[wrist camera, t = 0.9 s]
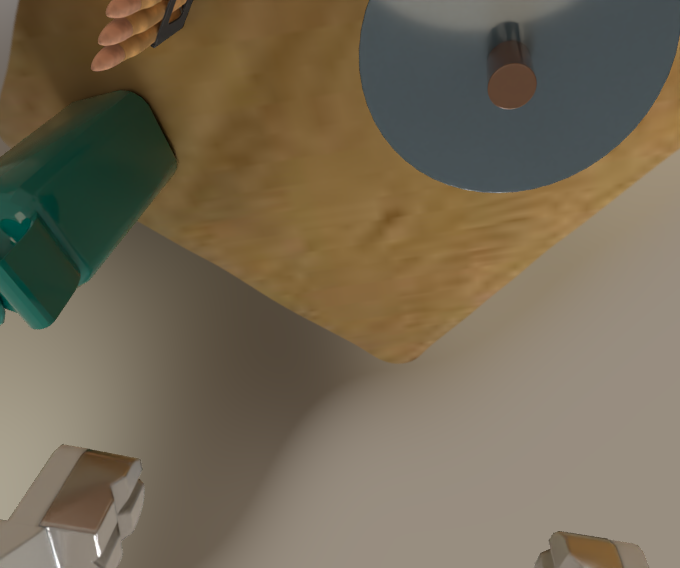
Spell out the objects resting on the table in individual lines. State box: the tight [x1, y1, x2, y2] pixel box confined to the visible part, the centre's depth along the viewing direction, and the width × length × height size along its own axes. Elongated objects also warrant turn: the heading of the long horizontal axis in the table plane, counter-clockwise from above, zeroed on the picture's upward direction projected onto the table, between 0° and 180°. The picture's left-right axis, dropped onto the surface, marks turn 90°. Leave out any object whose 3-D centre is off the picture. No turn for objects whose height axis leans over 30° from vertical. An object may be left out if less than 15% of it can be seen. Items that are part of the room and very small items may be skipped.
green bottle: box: [0, 90, 177, 329], centre depth 41 cm, size 10×8×22 cm
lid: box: [359, 0, 680, 193], centre depth 29 cm, size 17×17×5 cm
